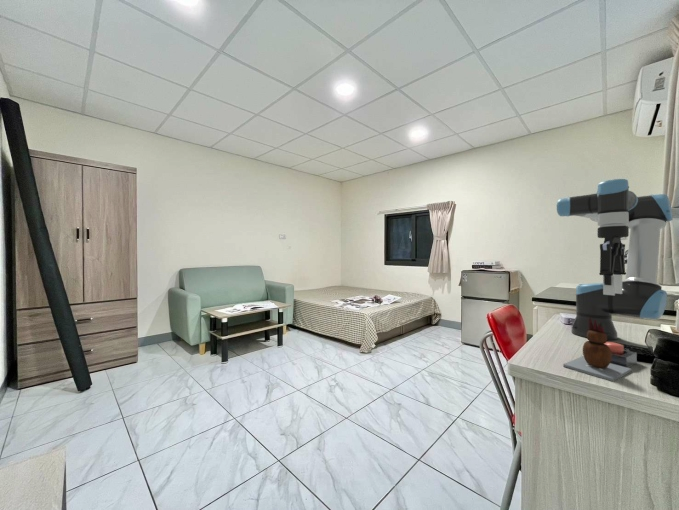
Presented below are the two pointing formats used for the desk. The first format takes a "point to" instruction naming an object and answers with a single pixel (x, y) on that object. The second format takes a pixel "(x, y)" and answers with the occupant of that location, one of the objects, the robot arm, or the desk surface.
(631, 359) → the button housing
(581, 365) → the slate board
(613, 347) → the button
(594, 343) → the wooden figurine
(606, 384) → the desk surface
